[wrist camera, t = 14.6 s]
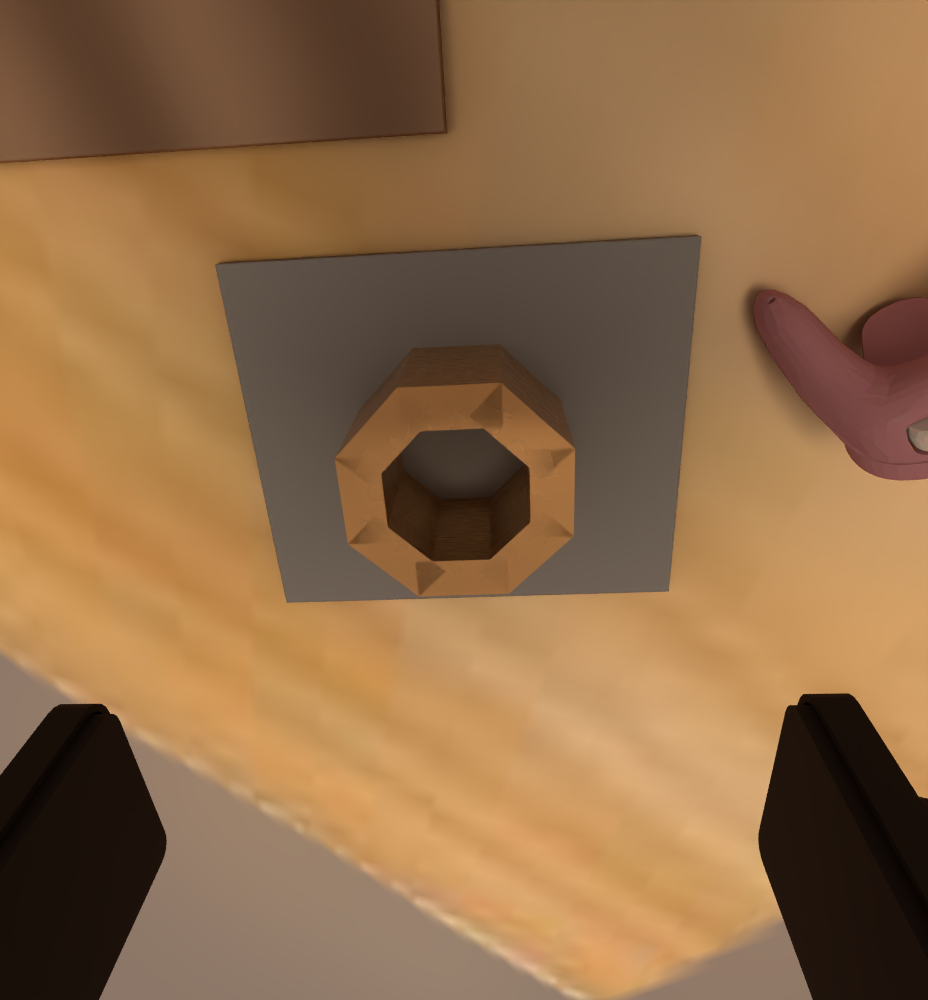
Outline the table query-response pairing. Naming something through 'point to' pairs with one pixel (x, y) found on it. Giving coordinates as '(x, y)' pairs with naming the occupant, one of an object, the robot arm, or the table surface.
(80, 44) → the post stand
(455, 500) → the wooden ring
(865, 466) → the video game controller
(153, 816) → the robot arm
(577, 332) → the rubber mat
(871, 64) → the table surface
